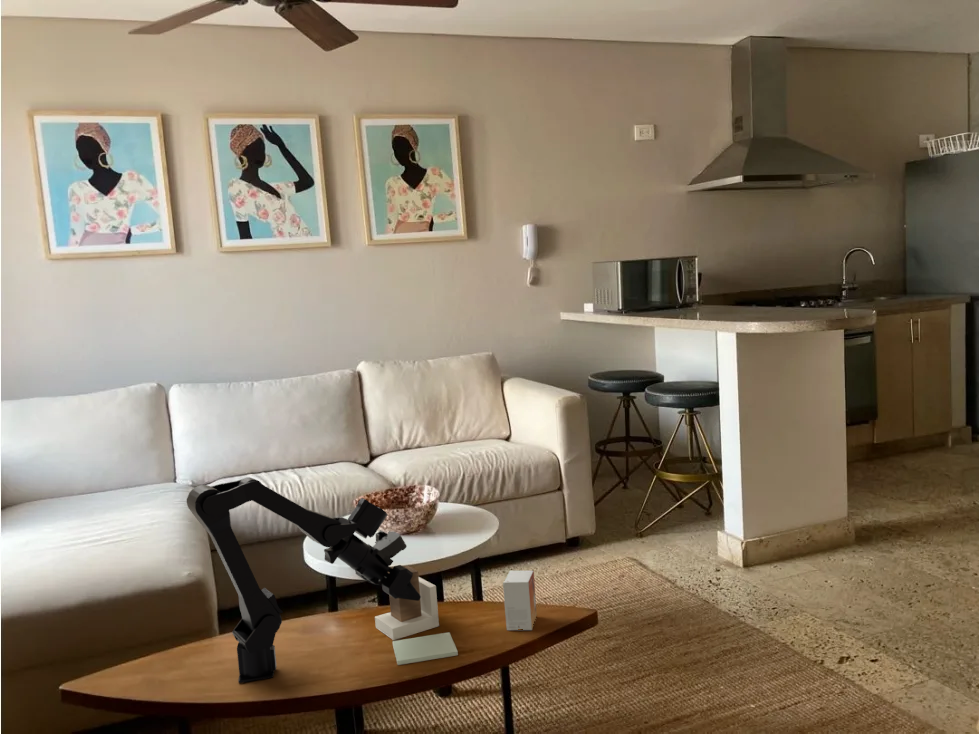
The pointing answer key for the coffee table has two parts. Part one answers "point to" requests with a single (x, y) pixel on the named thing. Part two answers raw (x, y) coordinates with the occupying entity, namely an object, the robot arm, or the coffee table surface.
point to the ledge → (415, 625)
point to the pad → (424, 648)
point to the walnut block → (406, 602)
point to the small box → (520, 600)
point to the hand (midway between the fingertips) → (409, 593)
